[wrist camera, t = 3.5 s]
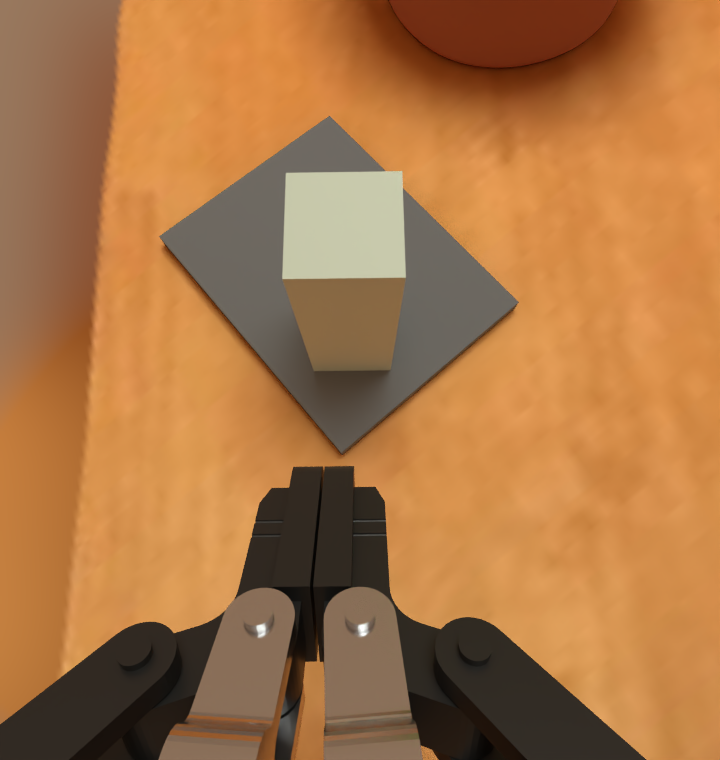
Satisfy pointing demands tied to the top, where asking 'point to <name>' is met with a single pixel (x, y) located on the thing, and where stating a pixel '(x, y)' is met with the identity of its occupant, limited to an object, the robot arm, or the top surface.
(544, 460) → the top surface
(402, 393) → the rubber mat
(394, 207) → the sage block
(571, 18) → the potted cactus
